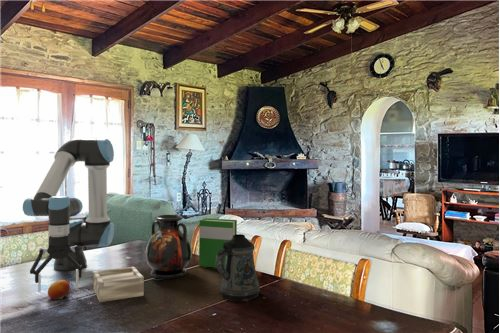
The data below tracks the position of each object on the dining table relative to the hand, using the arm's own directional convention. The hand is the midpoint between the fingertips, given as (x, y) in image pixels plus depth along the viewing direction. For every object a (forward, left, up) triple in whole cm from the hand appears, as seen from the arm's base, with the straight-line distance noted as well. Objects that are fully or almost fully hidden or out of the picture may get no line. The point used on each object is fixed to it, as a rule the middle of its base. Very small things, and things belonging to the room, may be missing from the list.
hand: (58, 288), depth 162 cm
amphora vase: (-10, +48, -4) cm, 49 cm away
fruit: (0, 0, -4) cm, 4 cm away
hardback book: (-13, +75, -4) cm, 76 cm away
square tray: (+4, +22, -4) cm, 23 cm away
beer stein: (+30, +65, -4) cm, 72 cm away
